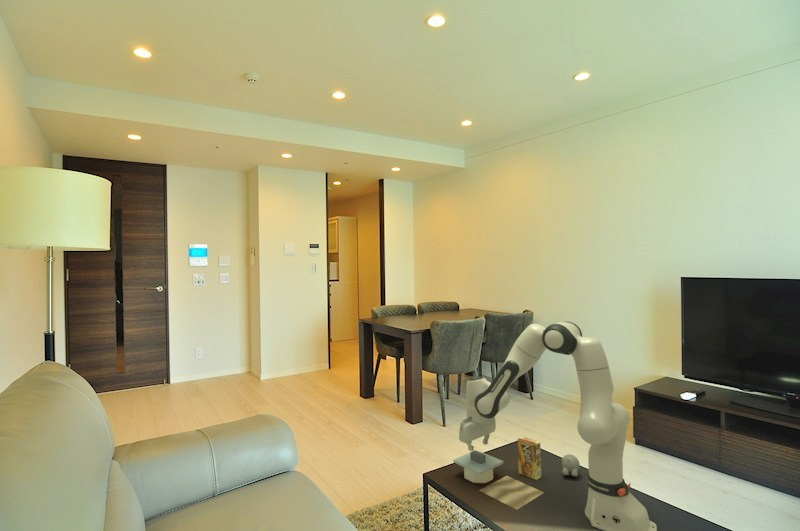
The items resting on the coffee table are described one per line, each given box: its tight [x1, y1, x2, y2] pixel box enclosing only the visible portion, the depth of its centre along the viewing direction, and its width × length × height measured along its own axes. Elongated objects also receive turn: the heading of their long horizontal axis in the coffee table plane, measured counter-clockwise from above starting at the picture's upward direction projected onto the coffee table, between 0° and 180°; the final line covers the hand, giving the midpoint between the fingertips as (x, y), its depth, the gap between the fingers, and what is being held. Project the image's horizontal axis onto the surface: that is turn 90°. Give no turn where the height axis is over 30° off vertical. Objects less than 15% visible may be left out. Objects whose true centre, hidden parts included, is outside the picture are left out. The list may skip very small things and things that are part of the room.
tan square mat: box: [478, 475, 545, 510], centre depth 168 cm, size 18×18×1 cm
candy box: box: [517, 436, 542, 481], centre depth 181 cm, size 9×4×15 cm, turn 44°
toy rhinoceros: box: [561, 453, 581, 478], centre depth 182 cm, size 7×12×8 cm, turn 152°
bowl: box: [463, 467, 494, 484], centre depth 181 cm, size 12×12×6 cm
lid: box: [452, 449, 504, 475], centre depth 181 cm, size 15×15×4 cm
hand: (478, 447), depth 181 cm, fingers open, 8 cm apart
